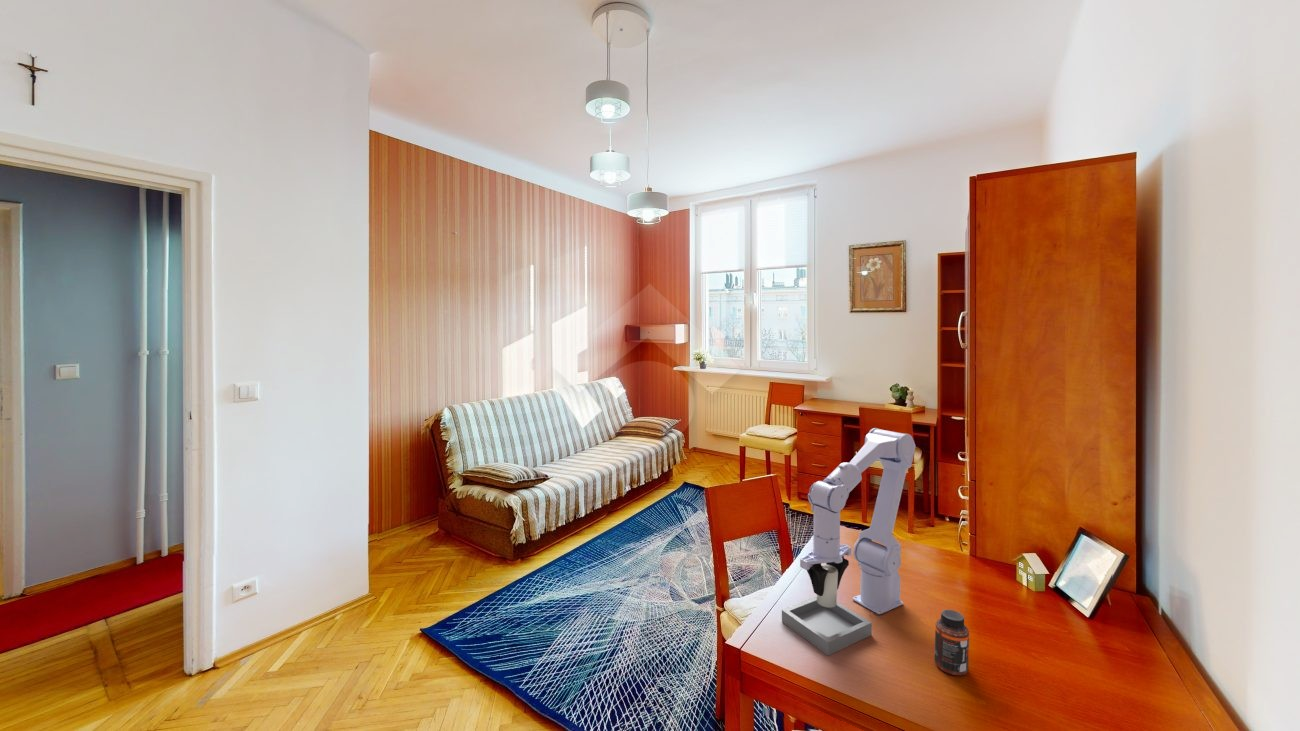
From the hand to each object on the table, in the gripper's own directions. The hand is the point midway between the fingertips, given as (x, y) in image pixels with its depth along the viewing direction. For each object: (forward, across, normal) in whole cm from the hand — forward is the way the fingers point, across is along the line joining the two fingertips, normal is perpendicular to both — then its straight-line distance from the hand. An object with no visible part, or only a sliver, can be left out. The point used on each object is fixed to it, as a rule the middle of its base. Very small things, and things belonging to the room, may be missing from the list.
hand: (825, 591), depth 115 cm
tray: (+9, 0, 0) cm, 9 cm away
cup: (+2, 0, 0) cm, 3 cm away
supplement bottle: (+9, +12, -22) cm, 27 cm away
